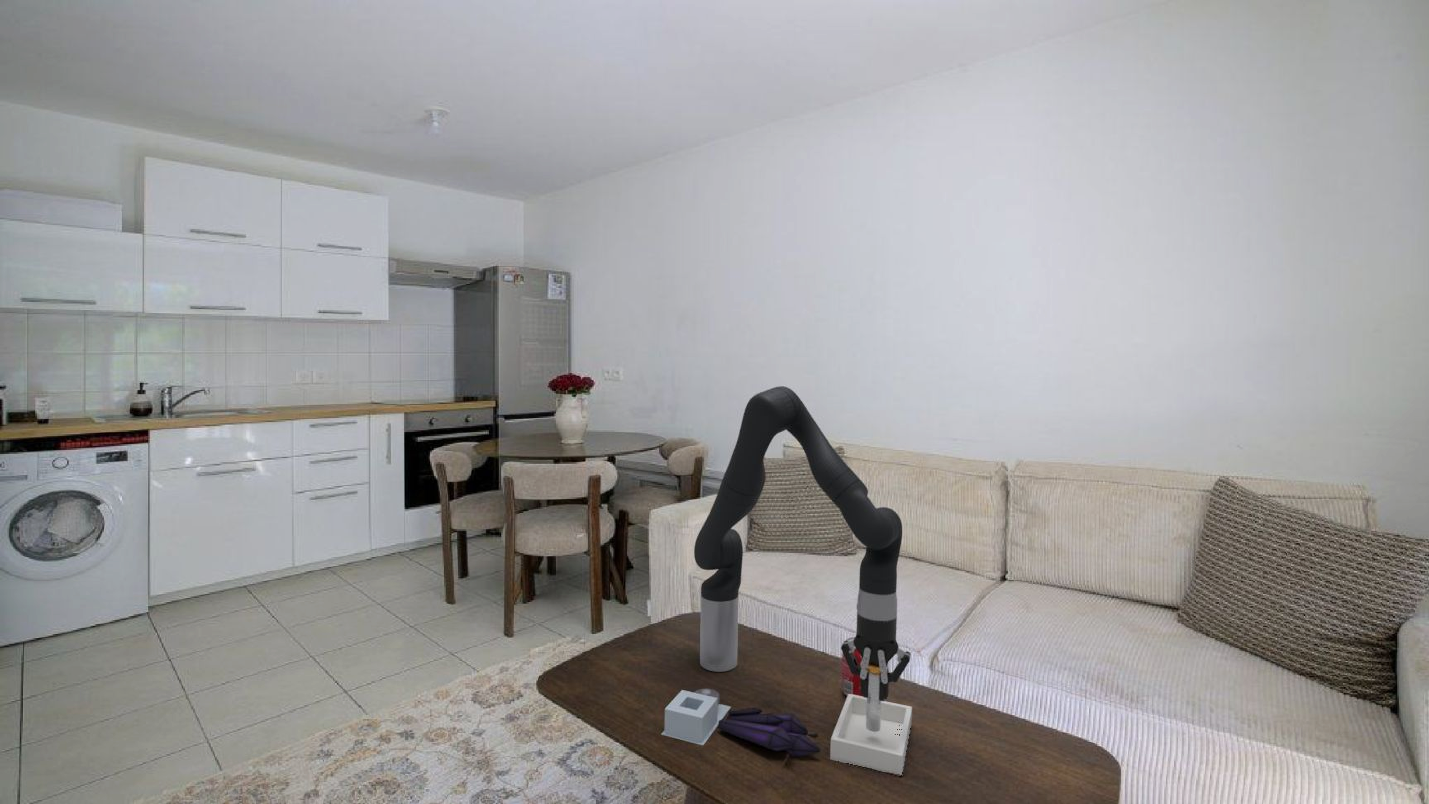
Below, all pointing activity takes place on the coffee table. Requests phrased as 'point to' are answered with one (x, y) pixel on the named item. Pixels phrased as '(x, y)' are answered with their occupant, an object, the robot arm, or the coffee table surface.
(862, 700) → the tray
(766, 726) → the crystal
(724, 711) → the tensioner bracket
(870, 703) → the lock pin
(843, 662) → the soda can
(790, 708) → the coffee table surface
